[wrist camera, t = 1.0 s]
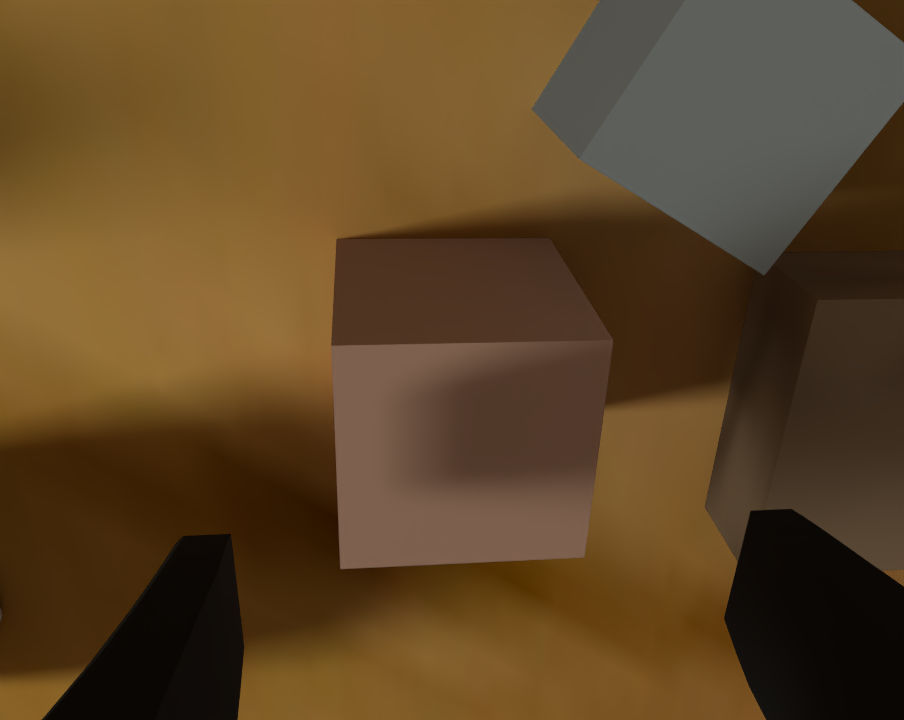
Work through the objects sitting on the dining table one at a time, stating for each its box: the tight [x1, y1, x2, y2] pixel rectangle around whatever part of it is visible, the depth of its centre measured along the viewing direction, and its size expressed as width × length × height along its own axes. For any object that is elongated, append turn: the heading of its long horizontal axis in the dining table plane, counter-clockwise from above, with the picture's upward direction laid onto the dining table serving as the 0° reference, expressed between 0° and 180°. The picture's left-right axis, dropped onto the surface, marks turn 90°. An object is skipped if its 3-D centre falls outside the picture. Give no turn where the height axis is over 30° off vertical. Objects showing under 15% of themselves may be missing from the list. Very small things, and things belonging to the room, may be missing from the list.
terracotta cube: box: [331, 238, 614, 569], centre depth 16 cm, size 4×4×5 cm
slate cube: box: [532, 0, 904, 275], centre depth 15 cm, size 4×4×4 cm
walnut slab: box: [705, 251, 904, 571], centre depth 19 cm, size 7×7×3 cm
